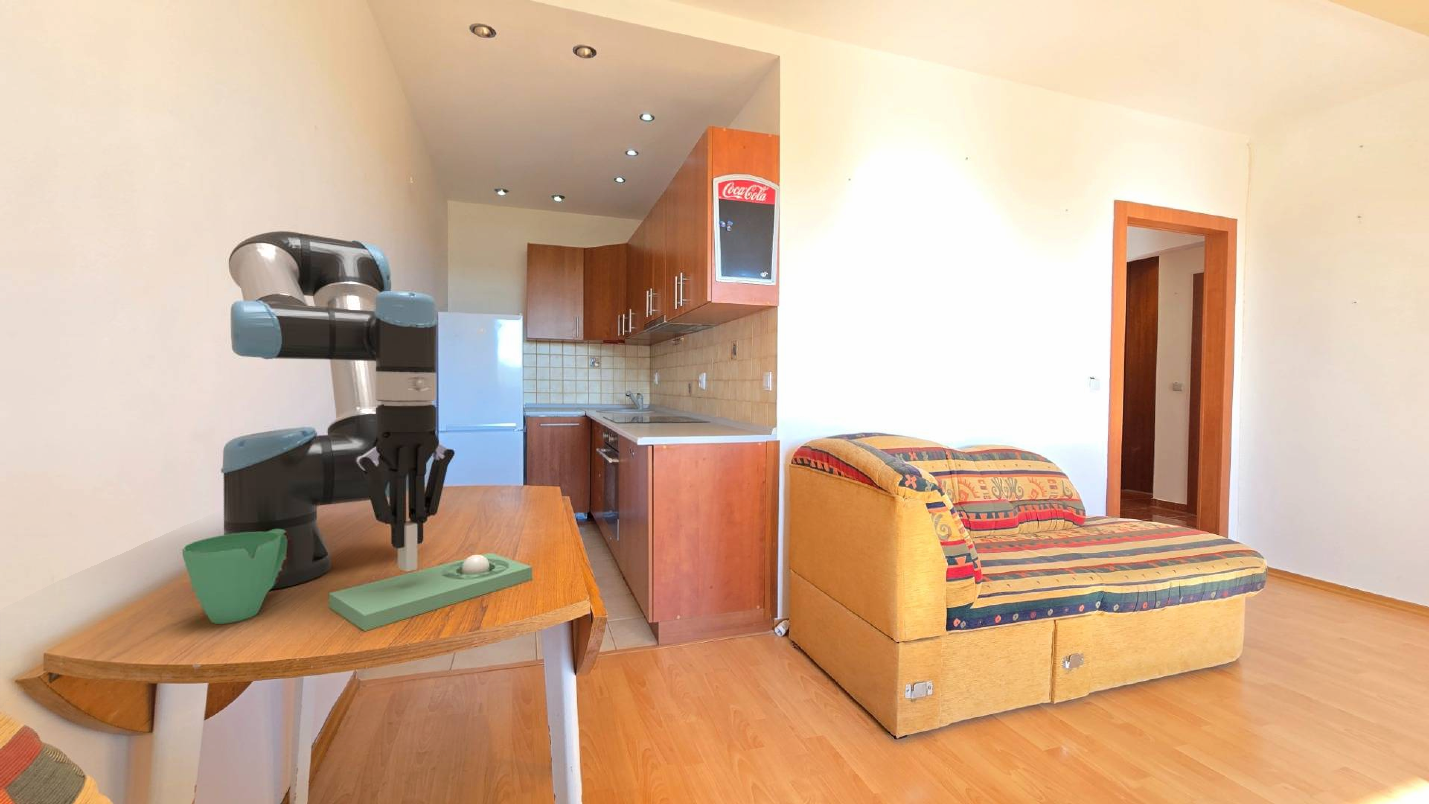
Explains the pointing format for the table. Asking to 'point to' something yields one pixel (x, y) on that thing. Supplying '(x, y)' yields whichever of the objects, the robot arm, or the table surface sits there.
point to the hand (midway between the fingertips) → (407, 567)
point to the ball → (475, 565)
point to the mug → (236, 572)
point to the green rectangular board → (423, 591)
